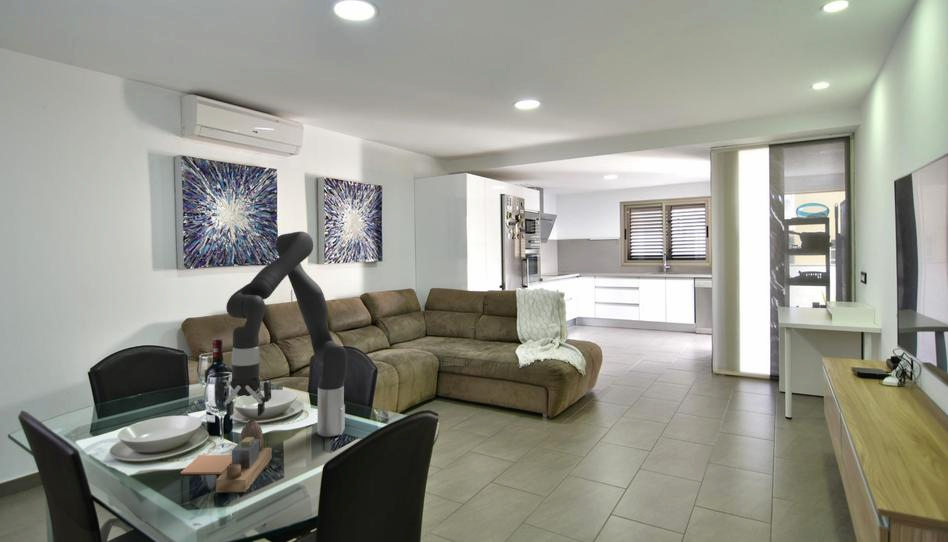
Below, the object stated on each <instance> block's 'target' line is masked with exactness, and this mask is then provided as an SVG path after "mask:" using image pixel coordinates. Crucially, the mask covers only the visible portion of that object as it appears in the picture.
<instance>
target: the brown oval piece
mask: <svg viewBox="0 0 948 542" xmlns="http://www.w3.org/2000/svg"><path fill="white" fill-rule="evenodd" d="M246 437H254V439H263V429H262V427H261V426H260V424H258V423H257V421H256V420H255V419H248V420H247V422H246V424H245V425H244V426H243V428H242V429H241V432H240V437H239V438H240V442H241V441H242V440H243V439H245V438H246Z"/></svg>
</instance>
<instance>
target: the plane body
mask: <svg viewBox="0 0 948 542" xmlns="http://www.w3.org/2000/svg"><path fill="white" fill-rule="evenodd" d="M264 442H265V441H264V438H262V439H259V458H258V459H257V460H256V461H255V463H254V464H253V465H252V466H251V467H250V469H241V465H240V464H232V463H231V465H229V466H228V467H227V469H226V470H225V471H224V472H223V473H222V474H219V476H218V477H217V478H216V479H215V493H246V492H247V491H248V490H249V488H250V487H251V486H252V485H253V483H254V482H255V481H256V480H257V478H258V476H260V474H261V472H263V470H264V469H265V468H266V466H267V465H268V464H269V463H270V461H271V460H272V458H273V457H272V455H273V453H272V451H273V448H272V447H264ZM250 485H251V486H250ZM247 489H248V490H247ZM246 490H247V491H246Z"/></svg>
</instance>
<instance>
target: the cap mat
mask: <svg viewBox="0 0 948 542" xmlns="http://www.w3.org/2000/svg"><path fill="white" fill-rule="evenodd" d="M231 463H232V454H209V455H208V454H207V455H206V454H199V455H198V456H197V457H196V458H194V460H193V461H192V462H189V464H188V465H187V466H186V467H185V468H184V469H182V471H180V475H221V474H222V473H223V472H224V471H225V470H226V469H227V467H228V466H229V465H230V464H231Z"/></svg>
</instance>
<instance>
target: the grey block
mask: <svg viewBox="0 0 948 542" xmlns="http://www.w3.org/2000/svg"><path fill="white" fill-rule="evenodd" d="M231 455H232V464H240V465H241V469H250V467H251V466H252V465H253V464H254V463H255V461H256V460H257V459H258V458H259V439H254V437H246V438H245V439H243V440H242V441H241V440H240V442H238V444H236V445H235V446H234V448H233V449H232V450H231Z"/></svg>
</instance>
